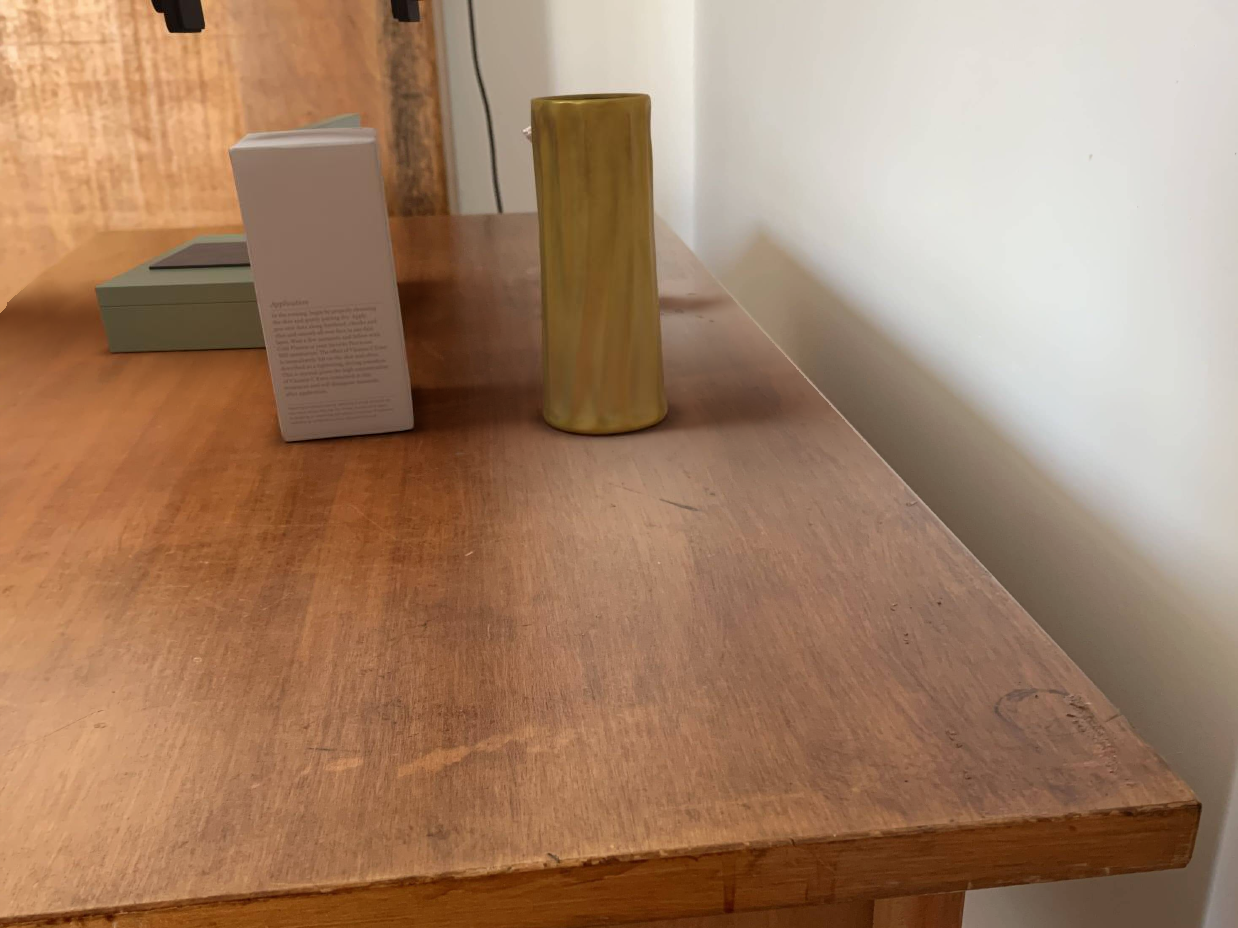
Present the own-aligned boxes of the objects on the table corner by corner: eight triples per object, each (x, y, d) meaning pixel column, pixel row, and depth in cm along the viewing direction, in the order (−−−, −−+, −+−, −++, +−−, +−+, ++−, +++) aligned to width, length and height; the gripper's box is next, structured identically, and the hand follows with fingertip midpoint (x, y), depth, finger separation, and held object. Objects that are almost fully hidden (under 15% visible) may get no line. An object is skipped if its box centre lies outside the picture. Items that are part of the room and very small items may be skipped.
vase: (518, 417, 58) (492, 99, 51) (614, 392, 61) (602, 91, 54) (594, 444, 53) (577, 102, 47) (693, 416, 57) (690, 93, 50)
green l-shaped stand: (110, 352, 72) (59, 143, 67) (210, 289, 90) (177, 119, 85) (322, 345, 72) (289, 136, 67) (381, 283, 90) (359, 113, 84)
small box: (290, 397, 62) (244, 131, 56) (411, 387, 63) (378, 125, 57) (279, 444, 55) (225, 145, 49) (415, 431, 56) (378, 137, 50)
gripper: (-71, -527, 40) (63, 37, 48) (434, -554, 40) (486, 16, 47) (28, -446, 46) (132, 37, 54) (461, -469, 46) (503, 19, 54)
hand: (297, 27), depth 51 cm, fingers open, 9 cm apart
